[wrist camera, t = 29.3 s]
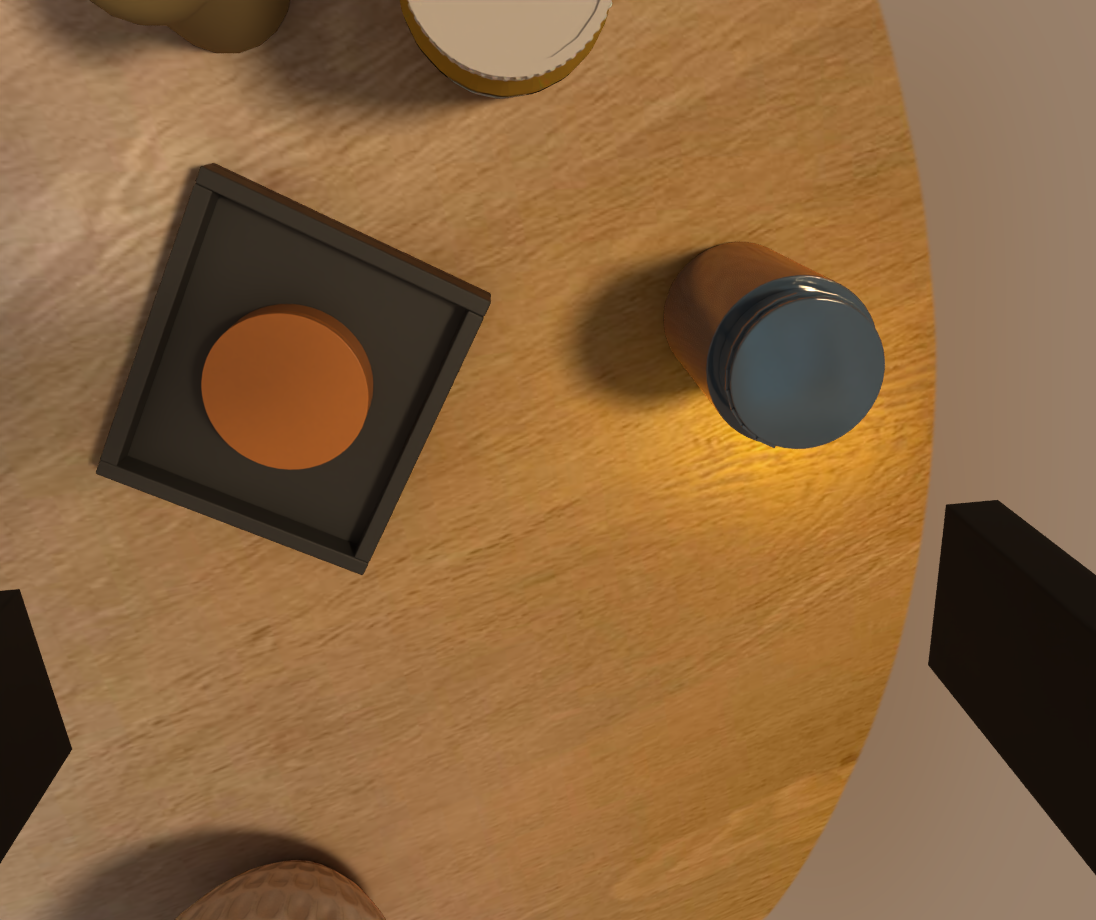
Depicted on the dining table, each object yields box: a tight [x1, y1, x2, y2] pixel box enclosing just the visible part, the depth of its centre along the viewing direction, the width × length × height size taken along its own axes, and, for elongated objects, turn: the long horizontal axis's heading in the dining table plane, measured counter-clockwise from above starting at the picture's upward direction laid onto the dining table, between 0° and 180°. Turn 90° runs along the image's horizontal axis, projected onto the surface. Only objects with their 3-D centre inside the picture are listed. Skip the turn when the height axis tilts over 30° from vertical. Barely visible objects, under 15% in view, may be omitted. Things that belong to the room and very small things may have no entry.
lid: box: [201, 304, 373, 470], centre depth 42 cm, size 8×8×2 cm
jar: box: [664, 242, 885, 449], centre depth 39 cm, size 7×7×11 cm
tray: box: [96, 163, 491, 575], centre depth 43 cm, size 16×14×2 cm
